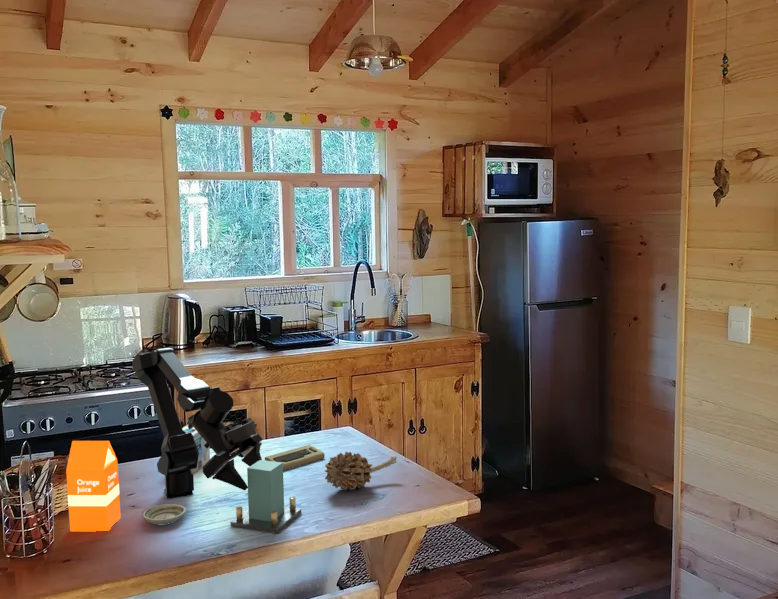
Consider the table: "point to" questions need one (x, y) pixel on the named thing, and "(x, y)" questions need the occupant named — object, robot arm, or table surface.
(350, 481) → the pine cone
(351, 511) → the table surface
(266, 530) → the plate
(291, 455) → the computer
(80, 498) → the orange juice
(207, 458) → the light bulb box
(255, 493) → the teal block
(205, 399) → the robot arm
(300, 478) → the table surface
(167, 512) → the saucer
